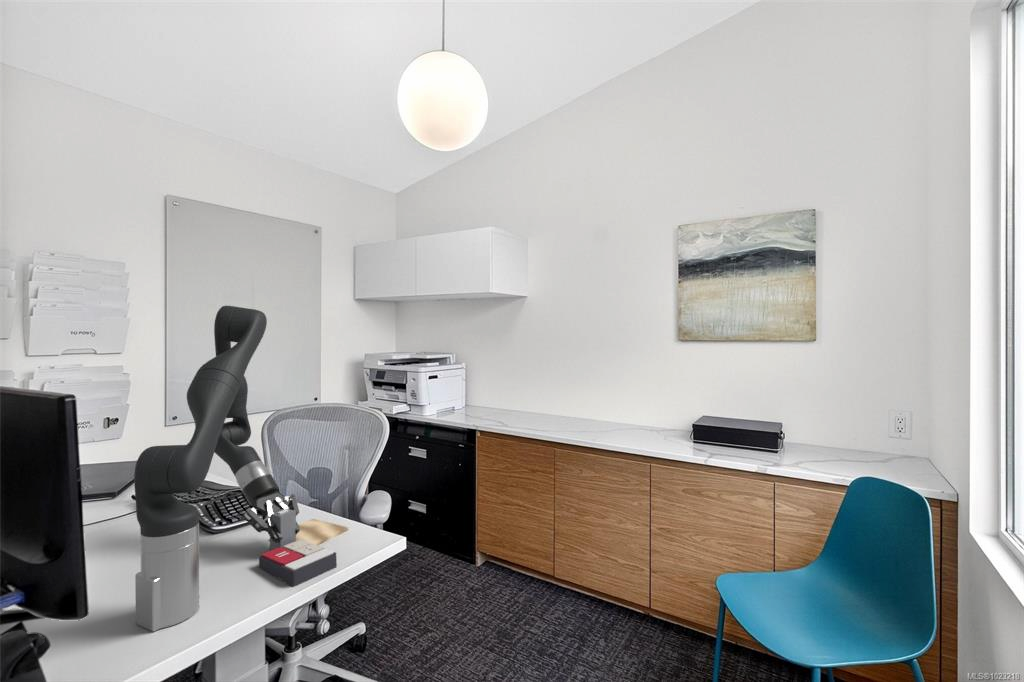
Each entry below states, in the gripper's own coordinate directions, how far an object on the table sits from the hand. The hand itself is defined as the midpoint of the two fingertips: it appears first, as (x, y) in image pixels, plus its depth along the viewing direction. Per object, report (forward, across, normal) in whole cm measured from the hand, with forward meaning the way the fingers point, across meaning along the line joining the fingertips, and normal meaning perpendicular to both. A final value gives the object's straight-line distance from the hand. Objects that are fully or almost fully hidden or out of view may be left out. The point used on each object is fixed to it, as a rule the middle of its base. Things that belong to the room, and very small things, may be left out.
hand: (288, 536), depth 117 cm
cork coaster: (0, +10, +6) cm, 12 cm away
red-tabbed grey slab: (+9, -4, -2) cm, 10 cm away
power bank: (+2, 0, +4) cm, 5 cm away
